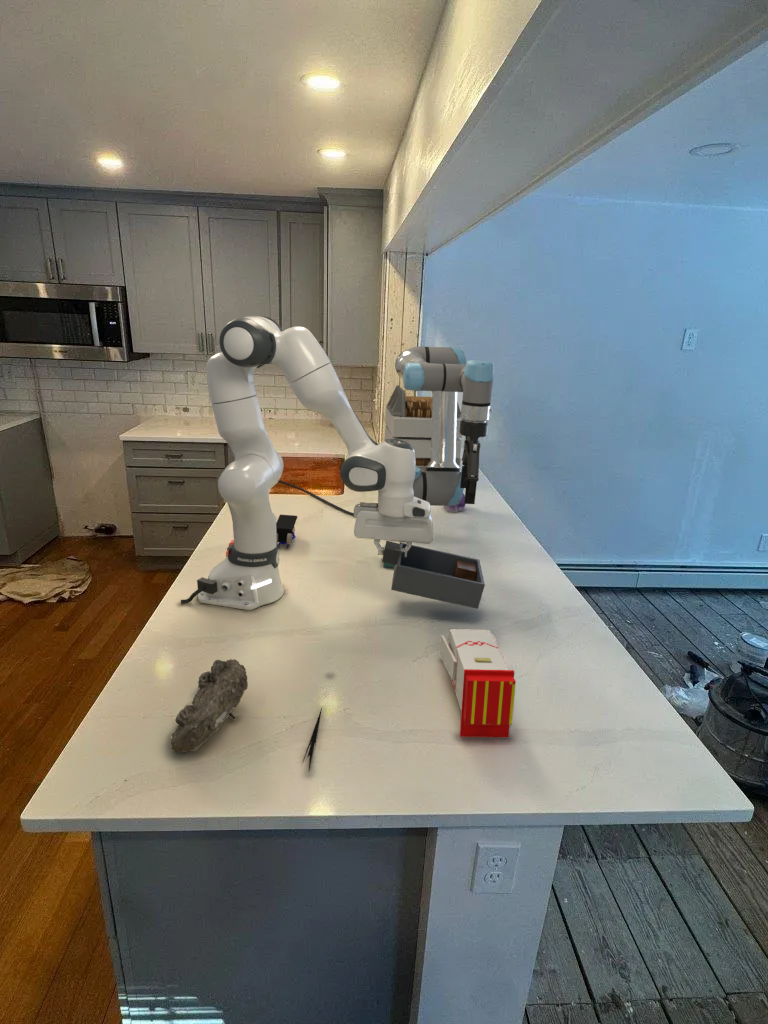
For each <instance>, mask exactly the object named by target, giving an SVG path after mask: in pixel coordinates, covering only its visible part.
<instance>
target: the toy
mask: <svg viewBox="0 0 768 1024" xmlns="http://www.w3.org/2000/svg"><path fill="white" fill-rule="evenodd" d="M438 654H439V656H440V658H441V660H442V662H443V665H444V666H445V668H446V671H447V673H448V675H449V677H450V681H451V683H452V685H453V689H454V690H455V695H456V698H457V702H458V705H459V708H460V726H459V737H460V738H509V737H510V728H511V727H510V726H512V725H513V717H514V706H515V705H514V704H515V693H516V684H517V683H516V679H515V670H514V669H510V667H509V666H508V663H507V662H506V660H505V658H504V655H503V654H502V652H501V650H500V648H499V644H498V642H497V638H496V635H495V634H492V632H491V631H490V629H467V628H466V629H465V628H463V629H461V628H460V629H459V628H450V629H449V631H448V641H447V639H446V638H445V636H444V634H443V635H442V634H441V635H440V641H439V651H438Z"/></svg>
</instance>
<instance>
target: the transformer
mask: <svg viewBox="0 0 768 1024" xmlns="http://www.w3.org/2000/svg"><path fill="white" fill-rule="evenodd" d="M384 414H385V416H384V424H385V425H384V426H385V427H384V440H386V439H398V440H402V441H405V442H407V443H409V444H410V445H411V446H412V447H413V449H414V451H415V458H416V467H426V466H427V465H428V464H429V463H430V462H431V428H432V396H416V395H414V396H413V395H410V396H409V395H407V393H406V389H404V388H402V387H401V385H399V384H397V385H396V386H395V388H394V389H393V392H392V393H391V395H390V398H389V400H388V402H387V403H386V405H385V413H384ZM461 420H463V419H461V408H460V405H459V402H458V401H457V421H456V459H455V462H456V464H457V465H458V466H459V467H460V468H461V463H462V458H461V452H462V443H463V442H462V438H463V435H461V434H460V433H459V430H460V421H461ZM384 440H383V441H384Z"/></svg>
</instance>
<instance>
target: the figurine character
mask: <svg viewBox="0 0 768 1024" xmlns="http://www.w3.org/2000/svg"><path fill="white" fill-rule="evenodd" d="M297 520H298V515H291V514H279V516H278V518H277V519H276V532H277V543H278V548H279V549H281V545H283V546H285V548H286V549H289V548H290V545H292V543H293V540H295V539H296V534H295V532H296V528H295V525H296V522H297Z"/></svg>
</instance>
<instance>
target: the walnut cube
mask: <svg viewBox="0 0 768 1024" xmlns="http://www.w3.org/2000/svg"><path fill="white" fill-rule="evenodd" d="M476 572H477V571H476V566H475V564H473V563H468V562H464V561H459V560H457V562H456V566H455V569H454V573H453V577H457V578H462V579H466V580H471V581H474V579H475V576H476Z"/></svg>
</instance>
